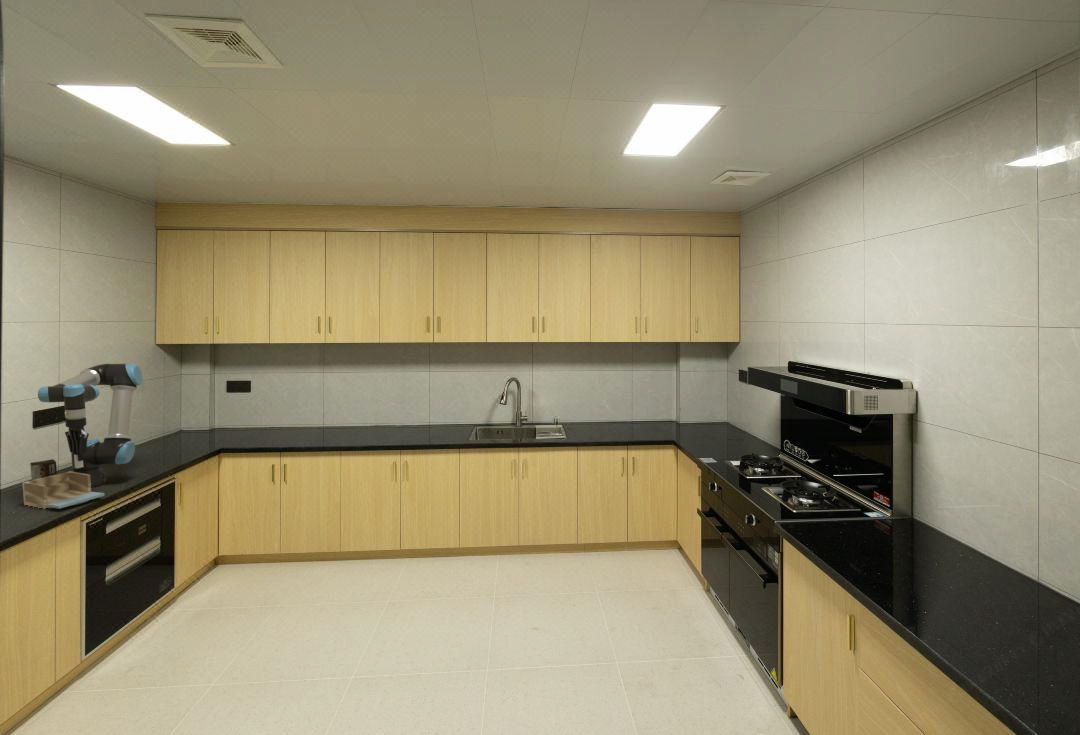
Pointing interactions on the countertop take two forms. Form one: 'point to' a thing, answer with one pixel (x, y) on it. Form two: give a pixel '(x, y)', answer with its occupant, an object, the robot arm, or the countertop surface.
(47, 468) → the coffee box
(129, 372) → the robot arm
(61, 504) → the panel
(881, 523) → the countertop surface
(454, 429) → the countertop surface
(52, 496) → the crate
